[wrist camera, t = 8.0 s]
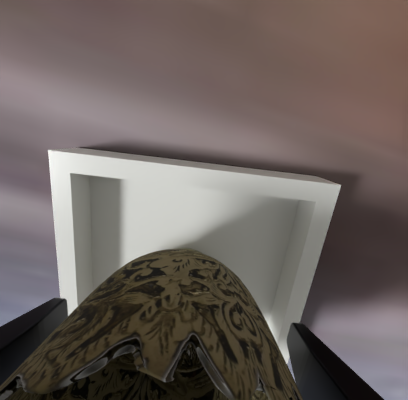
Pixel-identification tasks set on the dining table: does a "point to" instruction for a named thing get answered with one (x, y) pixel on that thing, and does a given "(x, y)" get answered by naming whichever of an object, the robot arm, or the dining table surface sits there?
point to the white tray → (190, 223)
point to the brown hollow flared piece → (160, 339)
